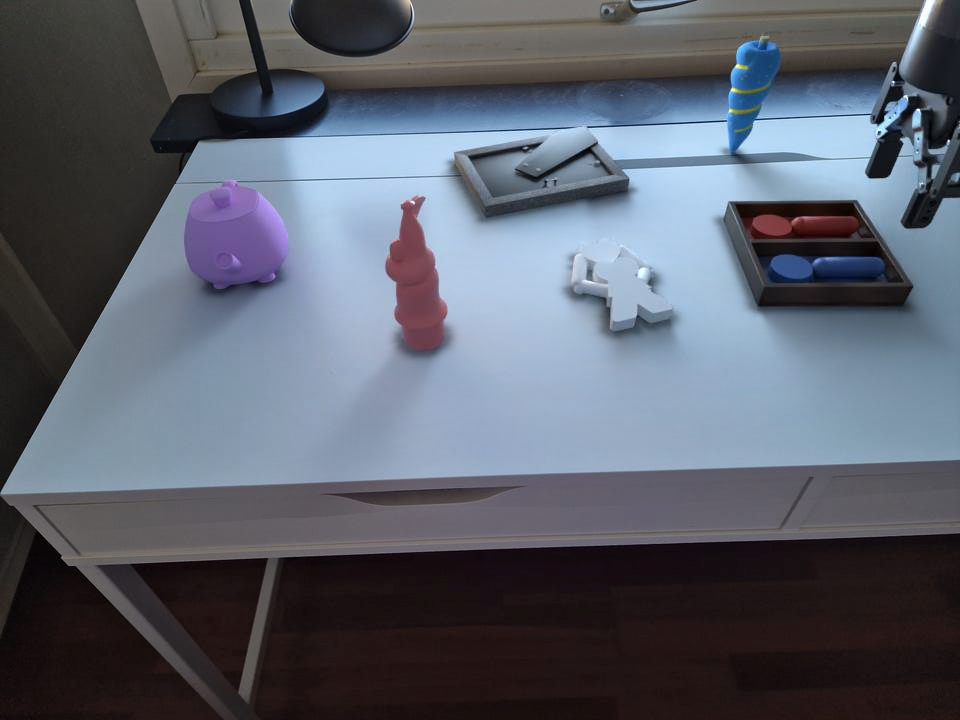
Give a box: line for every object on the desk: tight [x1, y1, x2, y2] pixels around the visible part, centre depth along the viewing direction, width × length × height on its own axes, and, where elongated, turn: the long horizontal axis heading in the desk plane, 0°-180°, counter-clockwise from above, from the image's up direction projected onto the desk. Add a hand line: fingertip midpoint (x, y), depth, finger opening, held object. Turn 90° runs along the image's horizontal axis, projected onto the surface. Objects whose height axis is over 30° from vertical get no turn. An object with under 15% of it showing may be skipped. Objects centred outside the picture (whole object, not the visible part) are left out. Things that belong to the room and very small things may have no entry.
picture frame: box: [453, 125, 630, 219], centre depth 85 cm, size 13×2×18 cm
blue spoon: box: [768, 255, 885, 283], centre depth 69 cm, size 11×4×2 cm, turn 88°
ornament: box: [726, 30, 782, 153], centre depth 83 cm, size 5×5×15 cm
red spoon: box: [750, 215, 859, 239], centre depth 74 cm, size 11×4×2 cm, turn 88°
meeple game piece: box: [570, 236, 674, 332], centre depth 69 cm, size 9×12×2 cm
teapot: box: [183, 179, 290, 290], centre depth 70 cm, size 10×15×9 cm
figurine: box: [384, 194, 449, 352], centre depth 61 cm, size 5×5×15 cm
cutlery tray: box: [723, 199, 915, 308], centre depth 72 cm, size 14×15×2 cm
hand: (893, 200), depth 65 cm, fingers open, 8 cm apart
